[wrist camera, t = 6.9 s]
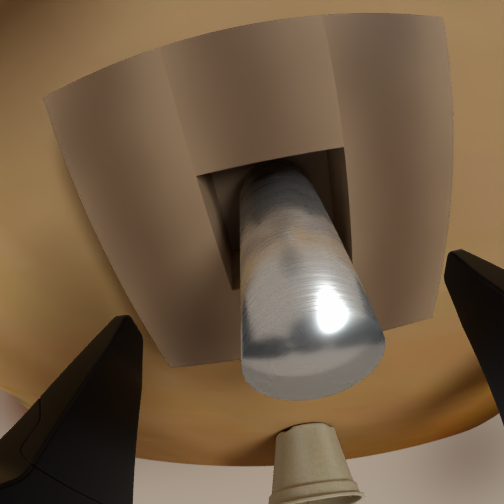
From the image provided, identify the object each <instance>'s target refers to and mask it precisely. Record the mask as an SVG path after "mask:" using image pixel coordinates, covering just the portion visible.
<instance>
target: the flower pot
mask: <svg viewBox="0 0 504 504" xmlns="http://www.w3.org/2000/svg"><path fill="white" fill-rule="evenodd" d="M364 497H365V495H364V493H363V492H360V491H359V489H358V486H357V483H356V482H354V481H353V479H352V476H351V473H350V471H349V468H348V465H347V463H346V460H345V457H344V455H343V452H342V449H341V446H340V444H339V441H338V438H337V435H336V432H335V429H334V428H333V427H329V426H327V425H326V424H324V423H309V424H302V425H297V426H293V427H292V428H291V429H290V430H288V431H286V432H283V431H282V432H280V433H279V434H278V435H277V437H276V445H275V462H274V475H273V487H272V495H271V496H270V497H269V504H354V503H357V502H359V501H360V500H362V499H363V498H364Z"/></svg>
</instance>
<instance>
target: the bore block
mask: <svg viewBox="0 0 504 504" xmlns="http://www.w3.org/2000/svg"><path fill="white" fill-rule="evenodd" d="M43 98H44V102H45V105H46V108H47V111H48V114H49V118H50V121H51V124H52V127H53V130H54V132H55V135H56V138H57V141H58V144H59V147H60V149H61V152H62V155H63V157H64V160H65V163H66V165H67V168H68V170H69V173H70V175H71V178H72V180H73V183H74V185H75V188H76V190H77V193H78V195H79V197H80V200H81V202H82V204H83V207H84V209H85V211H86V213H87V216H88V218H89V220H90V222H91V224H92V227H93V229H94V231H95V233H96V235H97V237H98V239H99V241H100V244H101V246H102V248H103V250H104V252H105V254H106V256H107V258H108V260H109V262H110V264H111V266H112V268H113V270H114V271H115V273H116V275H117V277H118V279H119V281H120V283H121V285H122V287H123V289H124V290H125V292H126V294H127V296H128V298H129V299H130V301H131V303H132V305H133V307H134V308H135V310H136V312H137V314H138V315H139V317H140V319H141V321H142V322H143V324H144V326H145V327H146V329H147V331H148V332H149V334H150V336H151V337H152V339H153V341H154V342H155V344H156V346H157V347H158V349H159V350H160V352H161V354H162V355H163V357H164V358H165V360H166V361H167V363H168V365H169V366H170V368H173V367H183V366H193V365H201V364H210V363H218V362H225V361H233V360H240V359H241V310H240V187H241V183H242V181H243V179H244V177H245V175H246V174H247V173H248V172H249V171H250V170H251V169H252V168H253V167H254V166H256V165H258V164H259V163H262V162H264V161H268V160H274V159H280V160H286V161H290V162H292V163H294V164H296V165H298V166H299V167H300V168H302V169H303V170H304V171H305V173H306V174H307V176H308V178H309V179H310V181H311V183H312V185H313V187H314V189H315V191H316V192H317V194H318V196H319V198H320V200H321V202H322V204H323V206H324V208H325V210H326V212H327V214H328V216H329V218H330V220H331V222H332V223H333V225H334V227H335V229H336V231H337V234H338V236H339V238H340V240H341V242H342V244H343V246H344V248H345V250H346V252H347V254H348V256H349V258H350V260H351V262H352V265H353V267H354V269H355V271H356V273H357V275H358V277H359V280H360V282H361V284H362V286H363V288H364V291H365V293H366V295H367V297H368V300H369V302H370V304H371V306H372V309H373V311H374V313H375V316H376V318H377V320H378V323H379V325H380V327H381V330H382V331H385V330H389V329H393V328H396V327H400V326H404V325H407V324H411V323H415V322H418V321H422V320H425V319H428V318H432V317H433V312H434V308H435V303H436V299H437V294H438V289H439V284H440V278H441V273H442V267H443V261H444V254H445V248H446V241H447V233H448V224H449V215H450V205H451V192H452V176H453V101H452V85H451V73H450V63H449V54H448V47H447V39H446V33H445V27H444V21H443V17H435V16H425V15H412V14H391V13H350V14H329V15H316V16H305V17H296V18H288V19H280V20H273V21H267V22H261V23H255V24H249V25H244V26H239V27H234V28H229V29H225V30H220V31H216V32H212V33H208V34H204V35H200V36H196V37H192V38H189V39H185V40H182V41H178V42H175V43H172V44H168V45H165V46H162V47H159V48H156V49H153V50H150V51H147V52H144V53H142V54H139V55H136V56H133V57H131V58H128V59H125V60H123V61H120V62H118V63H115V64H113V65H110V66H108V67H106V68H103V69H101V70H99V71H96V72H94V73H92V74H89V75H87V76H85V77H83V78H81V79H79V80H77V81H75V82H72V83H70V84H68V85H66V86H64V87H62V88H60V89H58V90H57V91H55V92H53V93H51V94H49V95H47V96H45V97H43Z"/></svg>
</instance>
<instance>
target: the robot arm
mask: <svg viewBox="0 0 504 504" xmlns="http://www.w3.org/2000/svg"><path fill="white" fill-rule="evenodd" d="M444 281H445V284H446V286H447V289H448V291H449V294H450V296H451V299H452V301H453V304H454V306H455V309H456V311H457V314H458V316H459V319H460V322H461V324H462V326H463V329H464V331H465V333H466V335H467V337H468V339H469V341H470V343H471V346H472V348H473V350H474V352H475V354H476V357H477V359H478V361H479V363H480V366H481V368H482V370H483V373H484V375H485V377H486V380H487V382H488V385H489V387H490V390H491V392H492V395H493V397H494V400H495V402H496V405H497V408H498V411H499V413H500V416H501V419H502V422H503V425H504V269H502V268H500V267H498V266H496V265H494V264H492V263H490V262H488V261H486V260H484V259H481V258H479V257H477V256H475V255H473V254H471V253H469V252H467V251H464V250H462V249H459V250H455V251H451V252H449V254H448V256H447V262H446V267H445V273H444ZM142 360H143V338H142V335H141V333H140V331H139V330H138V328H137V326H136V325H135V323H134V321H133V320H132V318H131V317H130V316H129V315H122V316H116V317H115V318H114V319H113V320H112V321H111V322H110V323H109V324H108V325H107V326H106V327H105V328H104V329H103V330H102V331H101V332H100V333H99V334H98V335H97V336H96V337H95V338H94V339H93V340H92V341H91V342H90V343H89V344H88V346H87V347H86V348H85V349H84V350H83V351H82V352H81V353H80V354H79V355H78V356H77V357H76V358H75V359H74V360H73V362H72V363H71V364H70V365H69V366H68V367H67V368H66V369H65V370H64V371H63V372H62V373H61V374H60V376H59V377H58V378H57V379H56V380H55V381H54V382H53V383H52V384H51V385H50V387H49V388H48V389H47V390H46V391H45V392H44V393H43V394H42V395H41V397H40V399H38V400H37V401H36V402H35V403H34V404H33V406H32V407H31V408H30V409H29V410H28V411H27V412H26V413H25V415H24V416H23V417H22V418H21V419H20V420H19V421H18V422H17V423H16V424H15V425H14V426H13V427H12V428H11V429H10V430H9V431H8V432H7V433H6V434H5V435H4V436H3V437H2V438H1V439H0V504H133V482H134V467H135V466H134V465H135V453H136V440H137V429H138V419H139V409H140V400H141V391H142Z"/></svg>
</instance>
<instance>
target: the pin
mask: <svg viewBox="0 0 504 504" xmlns="http://www.w3.org/2000/svg"><path fill="white" fill-rule="evenodd" d="M240 310H241V368H242V373H243V376H244V378H245V380H246V381H247V382H248V384H249V385H250V386H251V387H253V388H254V389H255V390H257V391H258V392H260V393H262V394H264V395H267V396H270V397H273V398H277V399H283V400H312V399H318V398H323V397H327V396H330V395H333V394H336V393H339V392H341V391H344V390H346V389H348V388H350V387H352V386H354V385H355V384H357V383H358V382H360V381H361V380H363V379H364V378H365V377H366V376H368V375H369V374H370V373H371V372H372V371H373V370H374V369H375V367H376V366H377V365H378V363H379V362H380V360H381V358H382V356H383V353H384V349H385V338H384V335H383V332H382V330H381V327H380V325H379V323H378V320H377V318H376V316H375V313H374V311H373V309H372V306H371V304H370V302H369V300H368V297H367V295H366V293H365V291H364V288H363V286H362V284H361V282H360V280H359V277H358V275H357V273H356V271H355V269H354V267H353V265H352V262H351V260H350V258H349V256H348V254H347V252H346V250H345V248H344V246H343V244H342V242H341V240H340V238H339V236H338V234H337V231H336V229H335V227H334V225H333V223H332V222H331V220H330V218H329V216H328V214H327V212H326V210H325V208H324V206H323V204H322V202H321V200H320V198H319V196H318V194H317V192H316V191H315V189H314V187H313V185H312V183H311V181H310V179H309V178H308V176H307V174H306V173H305V171H304V170H303V169H302V168H300V167H299V166H298V165H296V164H294V163H292V162H290V161H286V160H280V159H274V160H268V161H264V162H262V163H259V164H258V165H256V166H254V167H253V168H252V169H251V170H250V171H249V172H248V173H247V174H246V175H245V177H244V179H243V181H242V183H241V187H240Z"/></svg>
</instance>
